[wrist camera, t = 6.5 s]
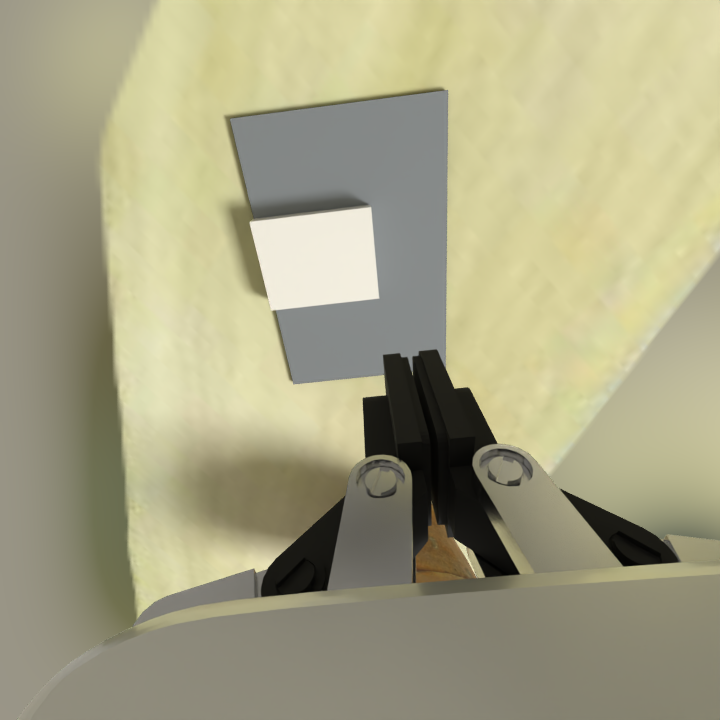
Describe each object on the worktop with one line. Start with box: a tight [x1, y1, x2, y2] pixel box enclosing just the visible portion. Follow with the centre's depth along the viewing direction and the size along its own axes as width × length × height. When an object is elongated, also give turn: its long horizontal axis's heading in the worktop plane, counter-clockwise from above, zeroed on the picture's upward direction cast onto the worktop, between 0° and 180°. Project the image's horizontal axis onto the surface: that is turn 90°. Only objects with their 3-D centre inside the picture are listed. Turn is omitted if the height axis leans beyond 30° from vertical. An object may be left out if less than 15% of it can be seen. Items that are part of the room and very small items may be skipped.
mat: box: [230, 90, 448, 384], centre depth 30 cm, size 22×15×1 cm
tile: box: [249, 205, 379, 311], centre depth 29 cm, size 7×2×9 cm
